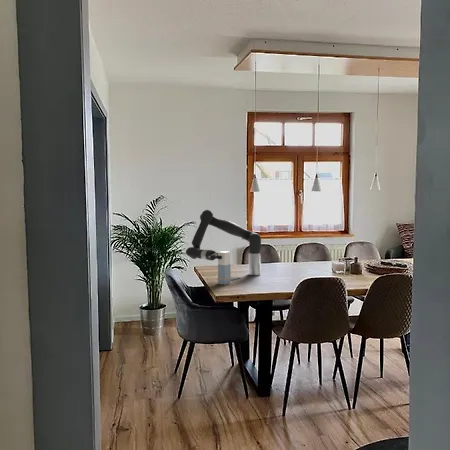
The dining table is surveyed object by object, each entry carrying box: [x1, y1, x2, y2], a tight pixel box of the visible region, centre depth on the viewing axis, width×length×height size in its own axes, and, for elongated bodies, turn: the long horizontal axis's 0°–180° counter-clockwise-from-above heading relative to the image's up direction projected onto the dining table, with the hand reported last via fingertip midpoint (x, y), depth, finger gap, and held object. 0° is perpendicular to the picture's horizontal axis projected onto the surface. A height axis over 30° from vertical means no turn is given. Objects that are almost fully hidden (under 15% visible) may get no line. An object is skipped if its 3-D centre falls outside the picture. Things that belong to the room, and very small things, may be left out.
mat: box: [231, 275, 241, 281], centre depth 354 cm, size 12×12×1 cm
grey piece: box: [217, 263, 232, 286], centre depth 336 cm, size 6×6×14 cm
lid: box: [217, 250, 231, 266], centre depth 335 cm, size 6×6×9 cm
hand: (225, 256), depth 334 cm, fingers open, 8 cm apart
